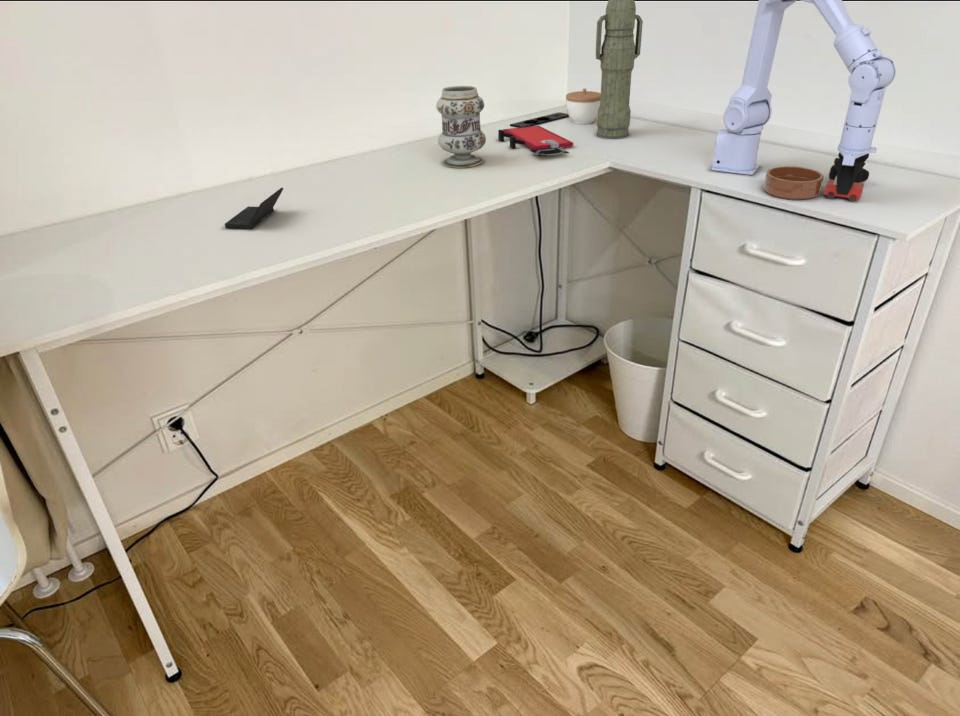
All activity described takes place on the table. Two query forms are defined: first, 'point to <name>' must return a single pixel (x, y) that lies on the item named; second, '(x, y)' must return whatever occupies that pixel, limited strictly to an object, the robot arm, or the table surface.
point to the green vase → (617, 66)
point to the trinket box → (583, 106)
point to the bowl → (793, 182)
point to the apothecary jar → (461, 125)
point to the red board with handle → (536, 140)
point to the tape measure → (860, 177)
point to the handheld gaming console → (254, 213)
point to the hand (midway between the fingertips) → (843, 191)
